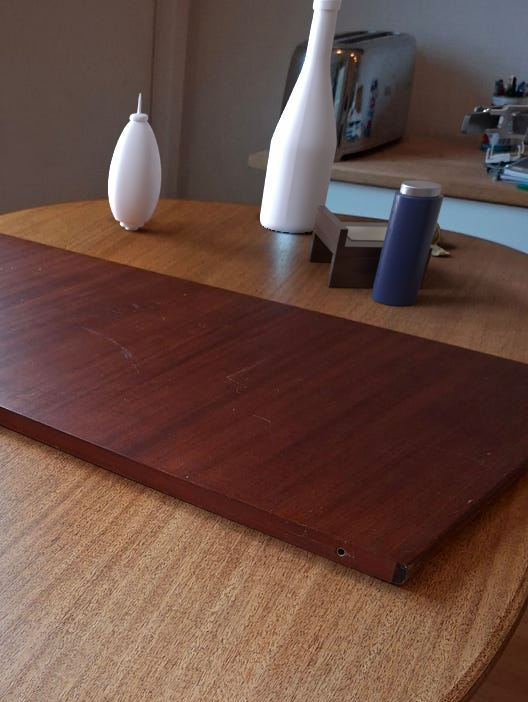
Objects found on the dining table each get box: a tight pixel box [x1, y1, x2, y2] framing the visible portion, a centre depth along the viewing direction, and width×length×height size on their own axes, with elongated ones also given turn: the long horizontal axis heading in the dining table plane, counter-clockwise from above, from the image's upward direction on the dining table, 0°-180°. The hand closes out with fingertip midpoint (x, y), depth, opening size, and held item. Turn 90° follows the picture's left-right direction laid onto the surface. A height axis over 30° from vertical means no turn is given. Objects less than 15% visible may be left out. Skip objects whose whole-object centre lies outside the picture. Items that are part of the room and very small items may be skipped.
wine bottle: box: [259, 0, 343, 234], centre depth 128 cm, size 10×10×30 cm
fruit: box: [431, 222, 451, 256], centre depth 127 cm, size 8×8×4 cm
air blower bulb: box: [107, 92, 162, 231], centre depth 130 cm, size 8×8×18 cm
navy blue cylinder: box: [370, 180, 445, 307], centre depth 105 cm, size 5×5×13 cm
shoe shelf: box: [307, 205, 433, 290], centre depth 116 cm, size 12×13×7 cm
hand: (496, 129), depth 103 cm, fingers open, 8 cm apart
